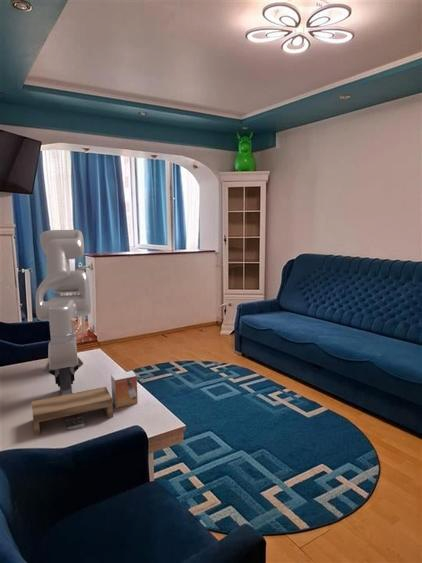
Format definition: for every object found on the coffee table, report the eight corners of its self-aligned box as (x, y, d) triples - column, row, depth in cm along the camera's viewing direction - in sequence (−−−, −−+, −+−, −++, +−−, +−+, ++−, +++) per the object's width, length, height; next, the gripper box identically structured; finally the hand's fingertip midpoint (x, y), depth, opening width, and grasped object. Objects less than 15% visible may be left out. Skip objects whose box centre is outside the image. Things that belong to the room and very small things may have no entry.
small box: (115, 408, 137) (114, 380, 135) (111, 401, 142) (110, 374, 140) (138, 403, 140) (137, 375, 138) (133, 396, 145) (132, 370, 143)
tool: (59, 389, 151) (57, 364, 149) (70, 387, 153) (68, 363, 151) (66, 416, 131) (64, 388, 130) (78, 413, 133) (76, 386, 131)
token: (66, 424, 128) (66, 419, 128) (82, 420, 130) (82, 416, 130) (68, 432, 123) (67, 427, 123) (84, 428, 126) (84, 423, 125)
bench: (33, 419, 130) (31, 401, 129) (106, 403, 140) (105, 386, 139) (34, 435, 121) (32, 415, 120) (113, 416, 131) (112, 398, 130)
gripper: (83, 332, 153) (86, 376, 156) (36, 338, 146) (40, 384, 149) (86, 337, 146) (89, 383, 150) (37, 344, 139) (42, 392, 143)
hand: (65, 383), depth 149 cm, fingers closed on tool, 4 cm apart
